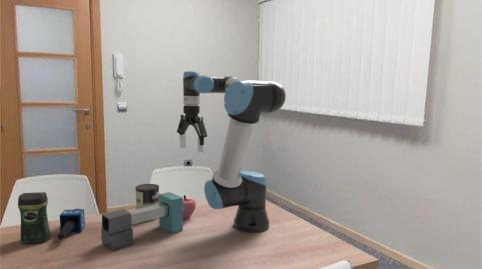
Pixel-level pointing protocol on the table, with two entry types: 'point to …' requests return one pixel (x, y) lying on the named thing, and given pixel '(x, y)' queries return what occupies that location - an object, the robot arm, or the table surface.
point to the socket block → (172, 212)
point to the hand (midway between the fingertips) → (191, 150)
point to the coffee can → (147, 195)
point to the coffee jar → (33, 217)
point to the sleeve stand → (116, 230)
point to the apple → (188, 207)
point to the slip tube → (149, 213)
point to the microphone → (71, 222)
